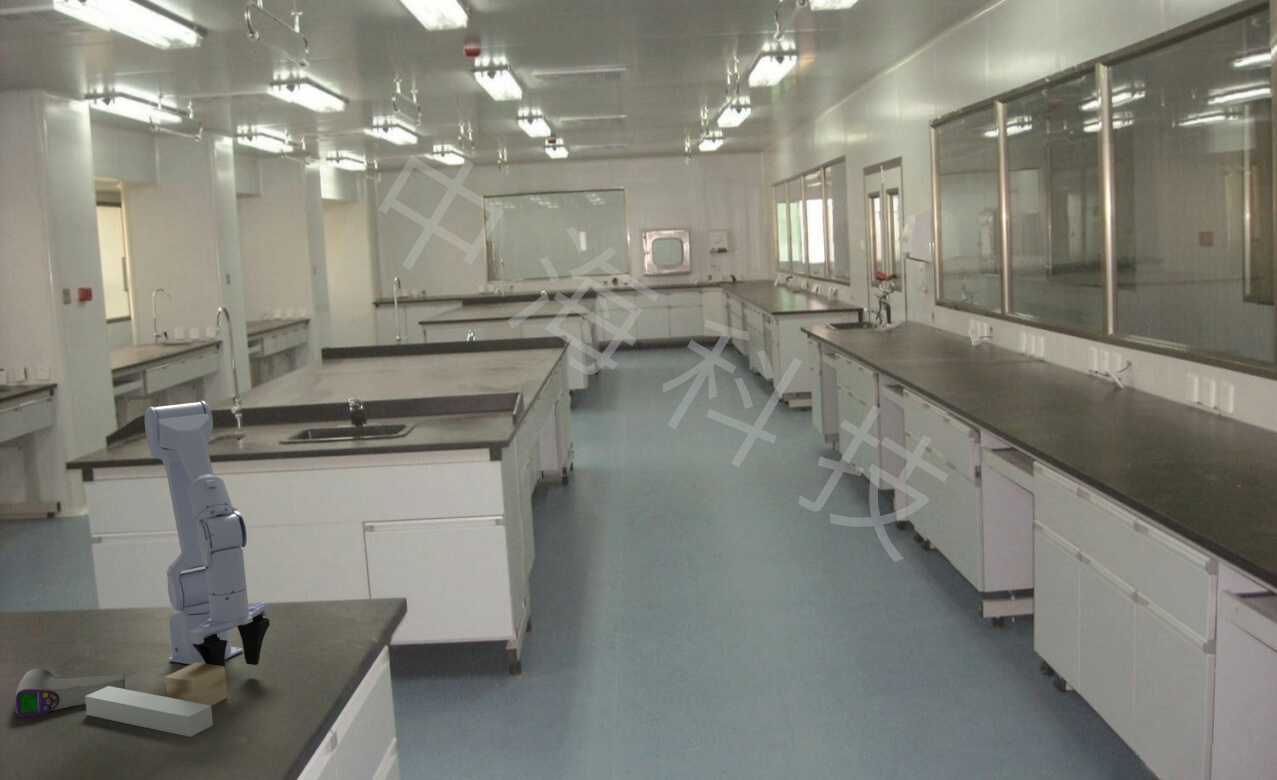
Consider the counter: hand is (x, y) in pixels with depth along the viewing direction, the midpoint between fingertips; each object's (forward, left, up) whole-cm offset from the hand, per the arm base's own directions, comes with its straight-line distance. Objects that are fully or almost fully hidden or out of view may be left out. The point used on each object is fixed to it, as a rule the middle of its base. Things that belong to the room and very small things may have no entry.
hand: (235, 671), depth 167 cm
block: (0, -8, -2) cm, 8 cm away
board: (-2, -15, -2) cm, 15 cm away
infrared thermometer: (-23, -12, -2) cm, 26 cm away
